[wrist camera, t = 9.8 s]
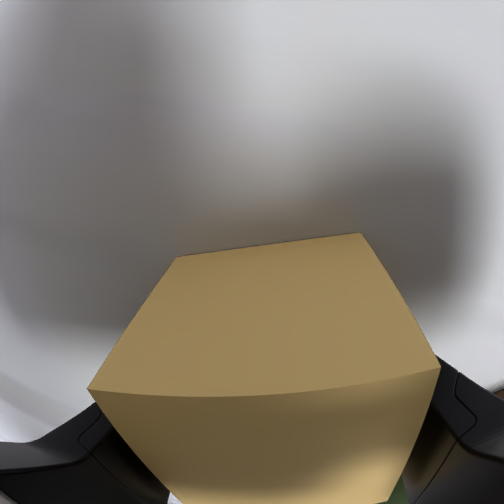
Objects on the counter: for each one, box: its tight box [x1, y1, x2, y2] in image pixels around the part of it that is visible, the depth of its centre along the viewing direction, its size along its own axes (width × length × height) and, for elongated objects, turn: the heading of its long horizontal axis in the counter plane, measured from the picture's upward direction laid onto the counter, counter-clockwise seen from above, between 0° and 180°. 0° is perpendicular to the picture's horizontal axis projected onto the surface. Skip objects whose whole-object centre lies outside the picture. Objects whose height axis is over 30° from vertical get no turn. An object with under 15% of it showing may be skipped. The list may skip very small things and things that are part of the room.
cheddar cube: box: [87, 232, 441, 504], centre depth 7 cm, size 6×6×6 cm
